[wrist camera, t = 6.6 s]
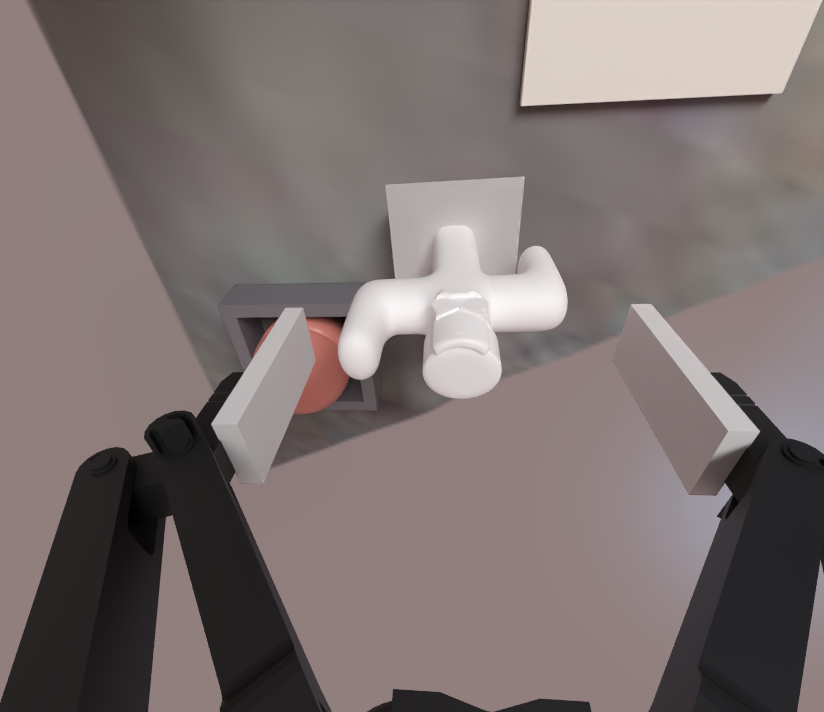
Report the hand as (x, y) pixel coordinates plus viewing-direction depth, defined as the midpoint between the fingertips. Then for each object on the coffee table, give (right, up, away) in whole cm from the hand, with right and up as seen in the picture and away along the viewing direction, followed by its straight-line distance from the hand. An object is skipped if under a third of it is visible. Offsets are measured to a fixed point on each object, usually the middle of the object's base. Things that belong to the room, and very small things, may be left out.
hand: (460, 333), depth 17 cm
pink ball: (-10, +1, +16) cm, 19 cm away
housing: (-10, 0, +16) cm, 18 cm away
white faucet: (+1, +8, +9) cm, 12 cm away
